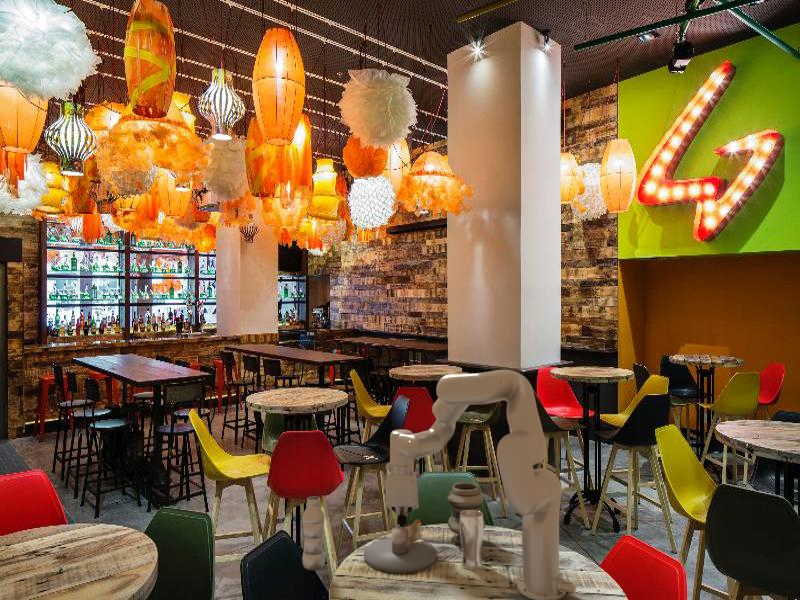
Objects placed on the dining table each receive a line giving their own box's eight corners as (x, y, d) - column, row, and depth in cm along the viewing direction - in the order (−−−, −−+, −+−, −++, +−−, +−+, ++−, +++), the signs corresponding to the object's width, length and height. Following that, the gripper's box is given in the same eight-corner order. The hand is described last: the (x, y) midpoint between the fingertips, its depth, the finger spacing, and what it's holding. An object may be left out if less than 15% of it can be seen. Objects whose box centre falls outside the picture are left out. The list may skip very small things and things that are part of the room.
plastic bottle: (313, 575, 158) (313, 503, 159) (297, 569, 162) (297, 499, 163) (330, 567, 163) (329, 497, 164) (313, 561, 167) (313, 493, 168)
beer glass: (483, 571, 160) (482, 518, 161) (458, 569, 161) (458, 516, 162) (484, 561, 167) (484, 510, 167) (461, 559, 168) (460, 508, 169)
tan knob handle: (402, 555, 167) (402, 534, 167) (388, 551, 170) (388, 530, 170) (425, 541, 177) (425, 521, 177) (412, 538, 180) (412, 518, 180)
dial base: (449, 551, 174) (449, 546, 174) (412, 579, 155) (412, 573, 155) (390, 537, 186) (390, 532, 186) (349, 561, 167) (349, 555, 167)
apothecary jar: (440, 543, 180) (440, 486, 181) (459, 531, 190) (458, 478, 191) (474, 552, 173) (473, 493, 174) (491, 539, 183) (491, 484, 184)
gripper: (377, 471, 178) (377, 530, 177) (424, 472, 177) (424, 531, 176) (380, 465, 185) (380, 522, 185) (425, 466, 184) (425, 523, 184)
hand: (401, 526), depth 180 cm, fingers closed
